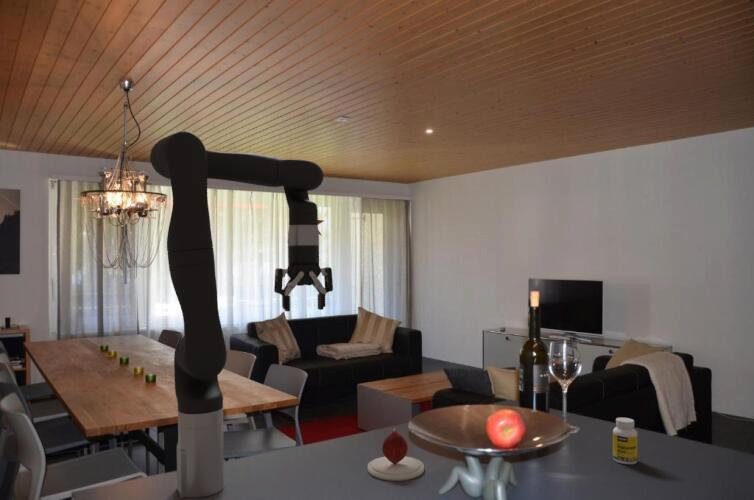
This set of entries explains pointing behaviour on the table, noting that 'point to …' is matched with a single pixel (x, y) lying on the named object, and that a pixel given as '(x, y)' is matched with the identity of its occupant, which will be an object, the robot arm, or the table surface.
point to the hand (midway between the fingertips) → (304, 310)
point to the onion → (395, 447)
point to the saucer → (395, 469)
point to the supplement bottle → (625, 441)
